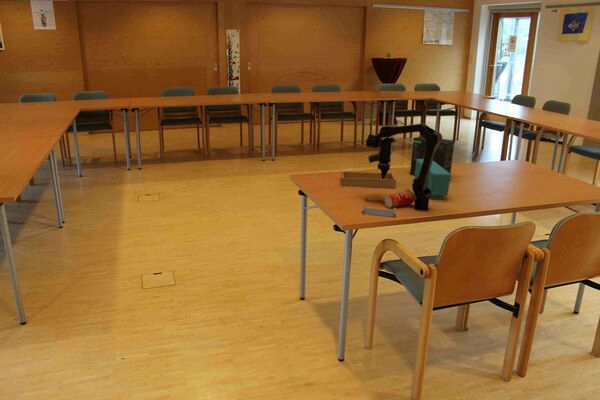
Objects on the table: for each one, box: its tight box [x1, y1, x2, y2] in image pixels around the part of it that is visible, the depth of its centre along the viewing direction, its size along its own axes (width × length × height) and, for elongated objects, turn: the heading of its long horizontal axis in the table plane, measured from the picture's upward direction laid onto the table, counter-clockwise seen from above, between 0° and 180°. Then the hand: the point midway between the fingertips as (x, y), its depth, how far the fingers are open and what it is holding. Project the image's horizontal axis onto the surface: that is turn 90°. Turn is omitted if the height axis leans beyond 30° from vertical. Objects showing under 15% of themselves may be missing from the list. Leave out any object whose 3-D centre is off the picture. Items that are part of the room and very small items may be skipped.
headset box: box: [409, 135, 455, 177], centre depth 321 cm, size 22×12×26 cm, turn 49°
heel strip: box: [364, 197, 385, 204], centre depth 271 cm, size 16×2×2 cm, turn 79°
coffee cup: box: [384, 188, 416, 209], centre depth 266 cm, size 8×8×15 cm
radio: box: [414, 159, 452, 200], centre depth 292 cm, size 34×10×15 cm, turn 4°
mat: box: [361, 204, 397, 218], centre depth 255 cm, size 16×9×2 cm, turn 79°
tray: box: [340, 170, 397, 189], centre depth 304 cm, size 31×15×6 cm, turn 88°
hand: (382, 178), depth 273 cm, fingers closed
